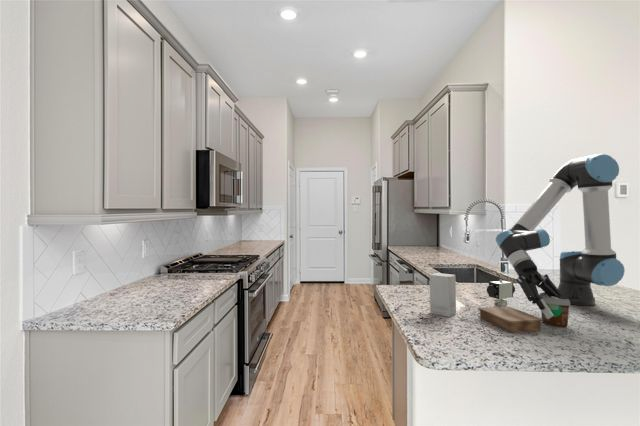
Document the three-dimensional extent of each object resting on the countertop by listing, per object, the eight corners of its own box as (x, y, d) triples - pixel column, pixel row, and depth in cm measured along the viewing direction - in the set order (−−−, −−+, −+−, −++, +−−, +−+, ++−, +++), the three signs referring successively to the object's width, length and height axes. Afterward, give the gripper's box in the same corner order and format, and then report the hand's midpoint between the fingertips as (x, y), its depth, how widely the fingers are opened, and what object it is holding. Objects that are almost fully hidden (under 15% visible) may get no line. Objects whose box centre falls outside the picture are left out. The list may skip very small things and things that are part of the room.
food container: (530, 318, 139) (530, 292, 139) (545, 317, 140) (545, 291, 140) (554, 328, 127) (553, 300, 127) (570, 328, 128) (570, 299, 127)
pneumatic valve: (515, 308, 154) (515, 279, 154) (495, 310, 149) (495, 281, 149) (503, 304, 159) (504, 277, 159) (484, 307, 154) (484, 279, 154)
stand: (508, 316, 141) (508, 306, 141) (543, 331, 124) (543, 319, 124) (478, 318, 139) (478, 307, 139) (509, 333, 122) (509, 321, 122)
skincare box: (456, 314, 144) (457, 274, 144) (449, 317, 139) (449, 276, 139) (436, 310, 149) (436, 272, 149) (428, 313, 144) (429, 274, 144)
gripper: (536, 269, 151) (573, 319, 135) (497, 270, 145) (530, 323, 130) (548, 257, 146) (587, 309, 130) (507, 259, 140) (543, 312, 125)
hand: (558, 316), depth 130 cm, fingers closed on food container, 7 cm apart
